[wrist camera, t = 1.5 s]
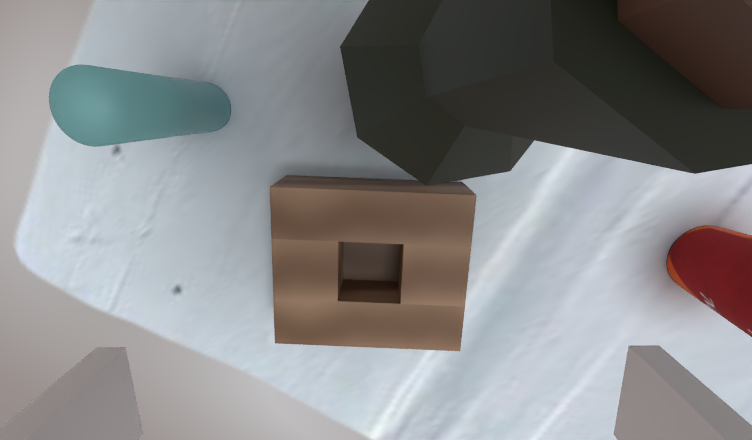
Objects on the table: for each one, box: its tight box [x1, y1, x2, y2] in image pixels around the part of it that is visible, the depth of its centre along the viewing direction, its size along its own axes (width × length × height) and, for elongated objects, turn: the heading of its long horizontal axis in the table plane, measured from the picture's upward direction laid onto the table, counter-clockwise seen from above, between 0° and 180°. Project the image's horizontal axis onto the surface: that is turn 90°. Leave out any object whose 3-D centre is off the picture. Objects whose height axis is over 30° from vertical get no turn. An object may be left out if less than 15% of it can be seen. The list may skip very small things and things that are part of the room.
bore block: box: [270, 175, 476, 351], centre depth 32 cm, size 12×14×5 cm
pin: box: [49, 65, 231, 146], centre depth 25 cm, size 4×4×13 cm
